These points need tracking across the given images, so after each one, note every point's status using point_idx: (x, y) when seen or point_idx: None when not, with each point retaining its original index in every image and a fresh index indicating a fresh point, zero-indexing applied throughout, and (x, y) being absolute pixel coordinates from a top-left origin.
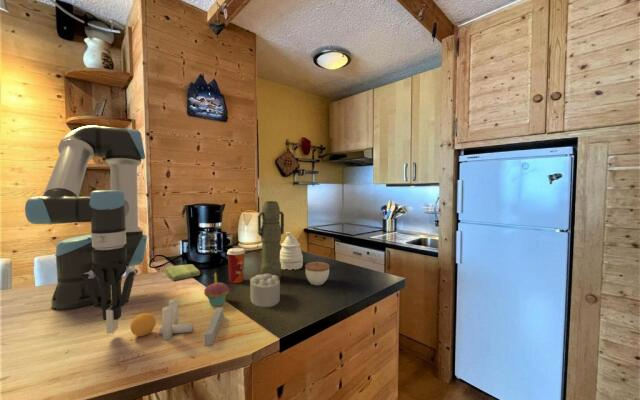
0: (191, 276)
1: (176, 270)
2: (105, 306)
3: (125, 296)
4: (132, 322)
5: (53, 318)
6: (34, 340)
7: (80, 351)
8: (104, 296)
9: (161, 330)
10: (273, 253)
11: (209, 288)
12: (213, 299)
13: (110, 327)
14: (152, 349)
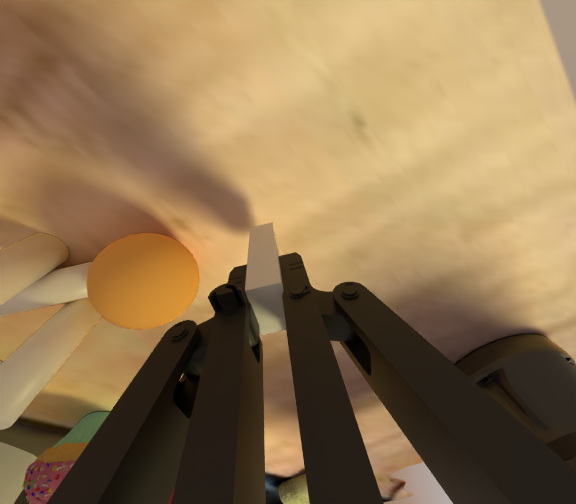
0: (293, 480)
1: None
2: (287, 299)
3: (117, 404)
4: (157, 264)
5: (519, 299)
6: (516, 189)
7: (310, 131)
8: (305, 371)
9: (75, 269)
10: None
11: None
12: (79, 435)
13: (257, 235)
14: (13, 165)
